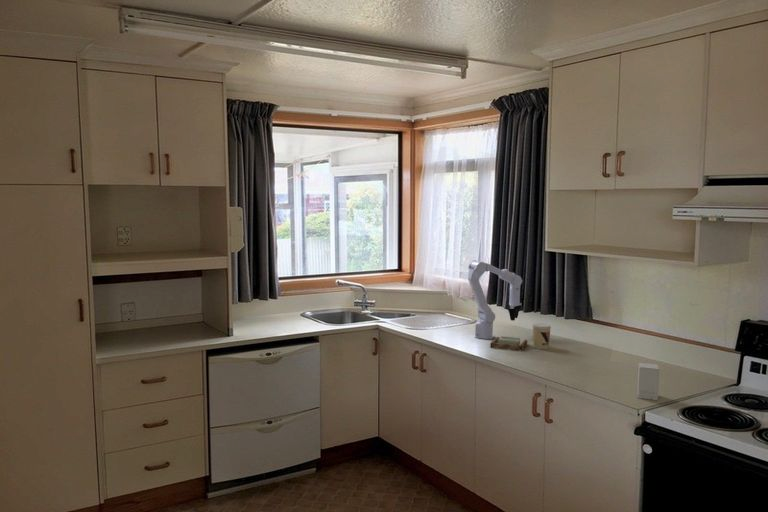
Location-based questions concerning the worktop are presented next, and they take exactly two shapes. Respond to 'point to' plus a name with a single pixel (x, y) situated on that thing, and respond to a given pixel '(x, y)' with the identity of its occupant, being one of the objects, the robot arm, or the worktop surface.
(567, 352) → the worktop surface
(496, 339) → the wooden tray
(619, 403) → the worktop surface
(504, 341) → the green block
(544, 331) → the coffee cup
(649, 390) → the supplement box
